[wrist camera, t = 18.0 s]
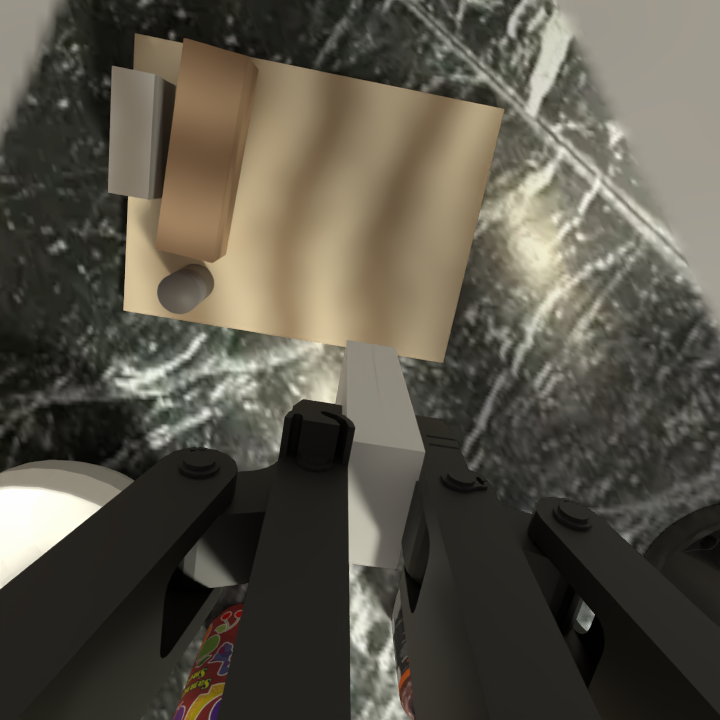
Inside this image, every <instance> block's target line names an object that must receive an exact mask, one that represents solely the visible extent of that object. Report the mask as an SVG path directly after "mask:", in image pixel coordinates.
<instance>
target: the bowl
mask: <svg viewBox="0 0 720 720" xmlns="http://www.w3.org/2000/svg"><path fill="white" fill-rule="evenodd" d="M133 482H134V480H133V479H131V478H129V477H128V476H126V475H124V474H122V473H120V472H117V471H115V470H112V469H110V468H107V467H104V466H99V465H95V464H90V463H85V462H78V461H65V460H45V461H37V462H30V463H26V464H23V465H20V466H16V467H13V468H10V469H7V470H5V471H3V472H0V589H1V588H2V587H3V586H5V585H6V584H7V583H8V582H10V581H11V580H12V579H13V578H15V577H16V576H17V575H18V574H20V573H21V572H22V571H23V570H25V569H26V568H27V567H28V566H29V565H31V564H32V563H33V562H34V561H36V560H37V559H38V558H39V557H41V556H42V555H43V554H44V553H46V552H47V551H48V550H49V549H51V548H52V547H53V546H54V545H56V544H57V543H58V542H59V541H61V540H62V539H63V538H64V537H65V536H67V535H68V534H69V533H70V532H72V531H73V530H74V529H75V528H77V527H78V526H79V525H80V524H82V523H83V522H84V521H85V520H87V519H88V518H89V517H90V516H92V515H93V514H94V513H95V512H97V511H98V510H99V509H100V508H102V507H103V506H104V505H105V504H106V503H108V502H109V501H110V500H111V499H113V498H114V497H115V496H116V495H118V494H119V493H120V492H121V491H123V490H124V489H125V488H126V487H128V486H129V485H130V484H131V483H133Z"/></svg>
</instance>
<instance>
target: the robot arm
mask: <svg viewBox="0 0 720 720" xmlns="http://www.w3.org/2000/svg"><path fill="white" fill-rule="evenodd" d="M237 470H238V468H237V465H236V462H235V461H234V460H233V459H232V458H231V457H230V456H229V455H227V454H225V453H222V452H220V451H217V450H213V449H208V448H203V447H198V448H196V447H193V448H187V449H182V450H178V451H174V452H172V453H171V454H169V455H167V456H165V457H164V458H162V459H161V460H160V461H159V462H157V463H156V464H155V465H154V466H152V467H151V468H150V469H149V470H147V471H146V472H145V473H144V474H143V475H141V476H140V477H139V478H138V479H136V480H135V481H134V482H133V483H131V484H130V485H129V486H128V487H126V488H125V489H124V490H123V491H121V492H120V493H119V494H118V495H116V496H115V497H114V498H113V499H111V500H110V501H109V502H108V503H106V504H105V505H104V506H103V507H102V508H100V509H99V510H98V511H97V512H95V513H94V514H93V515H92V516H90V517H89V518H88V519H87V520H85V521H84V522H83V523H82V524H80V525H79V526H78V527H77V528H75V529H74V530H73V531H72V532H70V533H69V534H68V535H67V536H65V537H64V538H63V539H62V540H61V541H59V542H58V543H57V544H56V545H54V546H53V547H52V548H51V549H49V550H48V551H47V552H46V553H44V554H43V555H42V556H41V557H39V558H38V559H37V560H36V561H34V562H33V563H32V564H31V565H29V566H28V567H27V568H26V569H25V570H23V571H22V572H21V573H20V574H18V575H17V576H16V577H15V578H13V579H12V580H11V581H10V582H8V583H7V584H6V585H5V586H3V587H2V588H1V589H0V720H140V719H141V717H142V716H143V714H144V713H145V711H146V710H147V708H148V707H149V705H150V704H151V702H152V700H153V699H154V697H155V696H156V694H157V693H158V691H159V690H160V688H161V687H162V685H163V684H164V682H165V681H166V679H167V678H168V676H169V675H170V673H171V672H172V670H173V668H174V667H175V665H176V664H177V662H178V661H179V659H180V658H181V656H182V655H183V653H184V652H185V650H186V649H187V647H188V646H189V644H190V643H191V641H192V640H193V638H194V637H195V635H196V633H197V632H198V630H199V629H200V627H201V626H202V624H203V623H204V621H205V620H206V618H207V617H208V615H209V614H210V612H211V611H212V609H213V608H214V606H215V605H216V603H217V601H218V600H219V598H220V596H221V593H222V590H223V586H230V585H238V584H246V583H249V585H248V589H247V593H246V597H245V601H244V606H243V610H242V614H241V618H240V622H239V627H238V631H237V635H236V639H235V643H234V648H233V652H232V656H231V660H230V664H229V669H228V673H227V677H226V681H225V685H224V690H223V694H222V698H221V702H220V706H219V711H218V715H217V719H216V720H351V713H350V616H349V563H350V564H358V565H365V566H373V567H380V568H388V569H395V570H397V566H398V562H399V558H400V554H401V550H403V557H404V567H403V571H402V575H401V579H400V583H399V587H398V591H397V595H396V599H395V603H394V607H393V612H392V618H393V619H397V617H398V613H399V610H400V609H401V608H402V613H403V621H404V629H405V637H406V645H407V653H408V661H409V669H410V677H411V685H412V693H413V701H414V709H415V717H416V720H720V505H715V506H711V507H707V508H704V509H701V510H699V511H696V512H694V513H692V514H690V515H688V516H686V517H684V518H682V519H681V520H679V521H677V522H676V523H675V524H673V525H672V526H670V527H669V528H668V529H667V530H665V531H664V532H663V533H662V534H661V535H660V536H659V537H658V538H657V539H656V540H655V542H654V543H653V544H652V545H651V547H650V548H649V550H648V551H647V553H646V554H645V556H644V557H643V556H642V555H641V554H640V553H638V552H637V551H636V550H635V549H634V548H633V547H632V546H631V545H630V544H629V543H628V542H627V541H626V540H625V539H623V538H622V537H621V536H620V535H619V534H618V533H617V532H616V531H615V530H614V529H613V528H612V527H611V526H609V525H608V524H607V523H606V522H605V521H604V520H603V519H602V518H601V517H599V516H598V515H597V514H595V513H594V512H593V511H591V510H590V509H588V508H586V507H584V506H582V505H581V504H580V503H578V502H575V501H573V500H571V501H570V499H565V498H555V497H548V498H542V499H540V500H539V501H538V502H537V503H536V505H535V508H534V511H533V514H530V513H527V512H524V511H521V510H517V509H514V508H511V507H509V506H506V505H504V504H501V503H500V502H499V500H498V498H497V495H496V493H495V491H494V489H493V487H492V486H491V485H490V483H489V482H488V481H487V480H486V479H485V478H483V477H482V476H481V475H479V474H478V473H476V472H473V471H471V470H469V469H468V467H467V464H466V462H465V460H464V457H463V455H462V453H461V450H459V445H458V443H457V441H456V438H455V436H454V434H453V431H452V429H451V428H450V427H449V426H447V425H446V424H445V423H444V422H443V421H442V420H441V419H437V418H431V417H424V416H418V415H415V414H414V411H413V407H412V404H411V400H410V397H409V393H408V390H407V387H406V383H405V380H404V376H403V373H402V369H401V366H400V362H399V359H398V355H397V352H396V348H394V347H387V346H381V345H375V344H369V343H363V342H357V341H351V340H347V342H346V347H345V353H344V358H343V364H342V370H341V375H340V381H339V386H338V392H337V397H336V403H335V404H331V403H325V402H318V401H312V400H305V399H303V400H301V401H300V402H298V403H297V404H296V405H294V406H293V409H292V411H290V412H288V414H287V415H286V416H285V419H284V426H283V432H282V439H281V446H280V453H279V458H278V461H277V462H276V463H275V464H273V465H271V466H269V467H267V468H264V469H260V470H254V471H241V472H237ZM583 601H584V602H585V603H586V604H587V605H588V607H589V608H590V609H591V610H592V611H593V613H594V614H595V616H594V619H593V621H592V624H591V626H590V629H589V630H588V631H586V630H585V629H584V628H583V627H582V626H581V625H580V624H579V623H578V621H577V620H576V618H577V616H578V613H579V610H580V608H581V605H582V603H583Z"/></svg>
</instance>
